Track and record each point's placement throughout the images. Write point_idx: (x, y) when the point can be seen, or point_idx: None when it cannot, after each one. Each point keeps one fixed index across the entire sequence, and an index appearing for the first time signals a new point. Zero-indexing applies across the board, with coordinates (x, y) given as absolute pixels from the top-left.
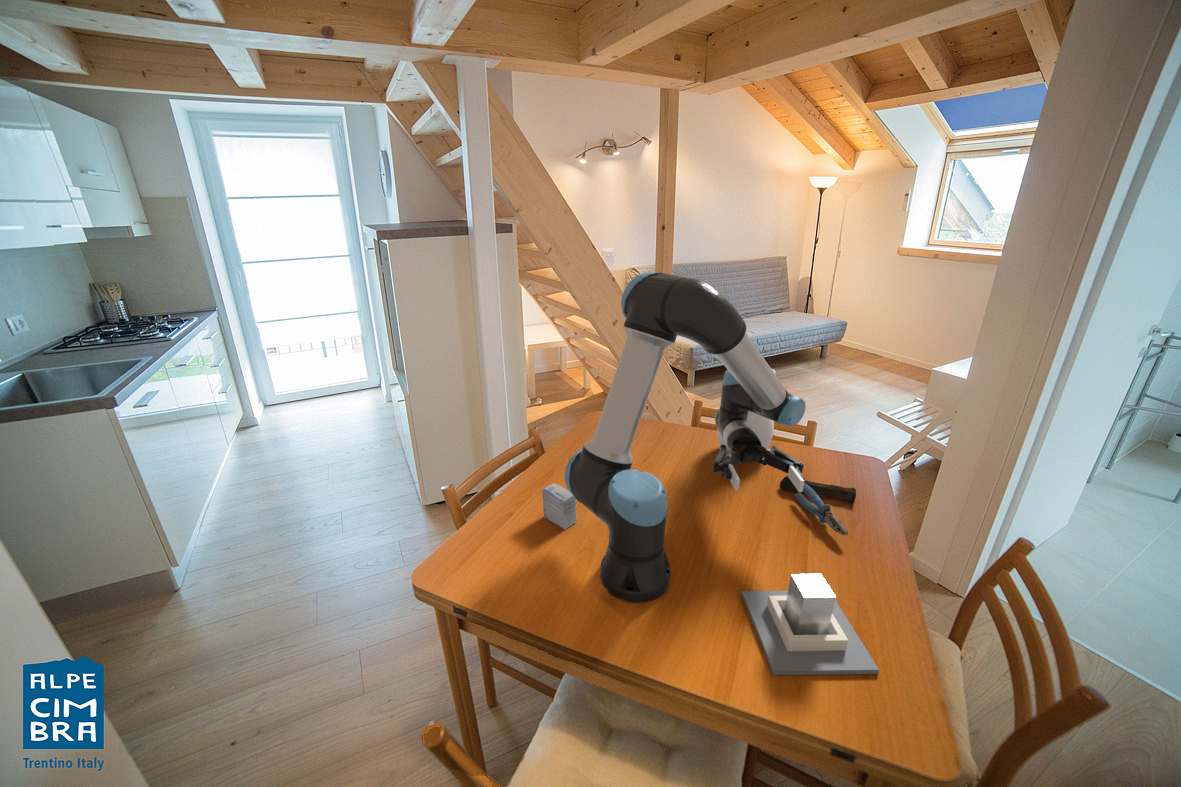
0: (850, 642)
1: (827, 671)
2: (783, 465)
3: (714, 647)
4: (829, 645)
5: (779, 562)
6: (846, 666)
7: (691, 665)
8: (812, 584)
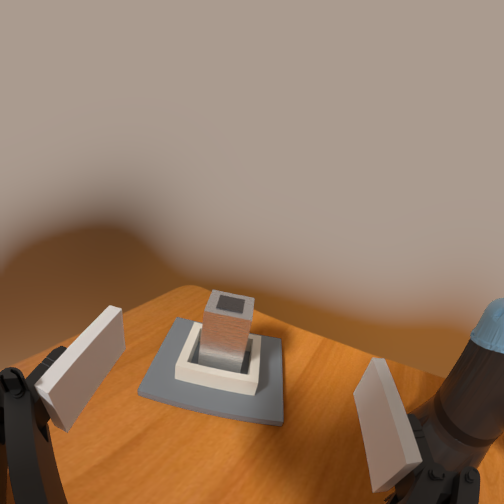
0: (179, 338)
1: None
2: (43, 449)
3: (332, 371)
4: None
5: (169, 471)
6: None
7: (354, 360)
8: (231, 303)
